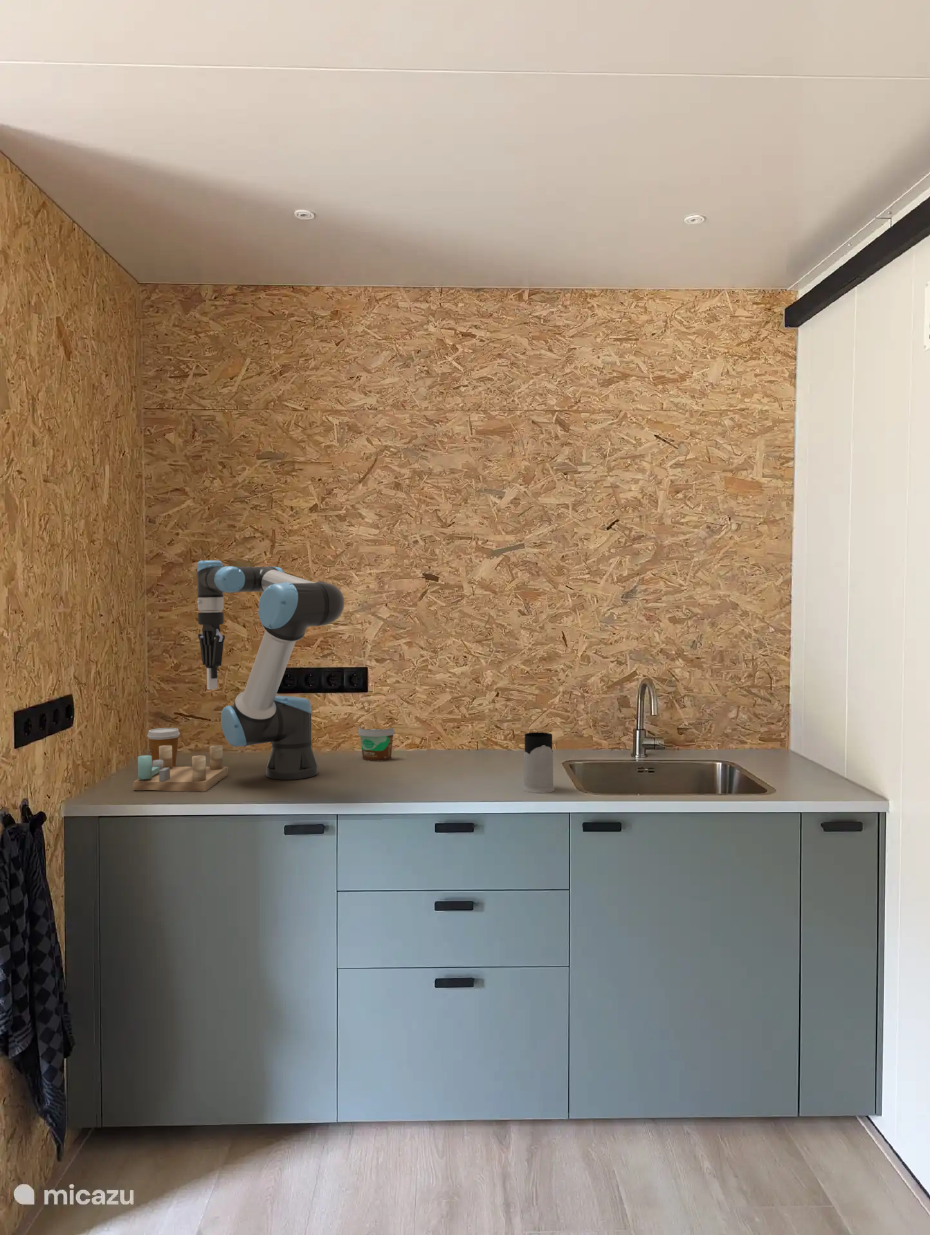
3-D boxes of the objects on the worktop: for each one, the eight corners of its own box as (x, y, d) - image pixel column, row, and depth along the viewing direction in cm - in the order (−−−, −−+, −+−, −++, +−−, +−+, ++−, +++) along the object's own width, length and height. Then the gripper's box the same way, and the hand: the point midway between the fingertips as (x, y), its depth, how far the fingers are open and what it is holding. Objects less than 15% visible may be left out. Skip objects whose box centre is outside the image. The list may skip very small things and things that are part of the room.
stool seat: (227, 775, 269) (227, 744, 268) (205, 791, 249) (204, 758, 248) (160, 774, 269) (160, 744, 269) (133, 790, 249) (132, 758, 249)
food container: (351, 760, 289) (351, 729, 288) (359, 756, 294) (359, 726, 294) (388, 762, 285) (387, 730, 285) (395, 758, 291) (395, 727, 290)
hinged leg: (154, 770, 262) (153, 749, 262) (166, 770, 262) (165, 749, 262) (136, 779, 250) (135, 757, 250) (148, 779, 250) (148, 757, 250)
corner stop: (170, 778, 253) (169, 767, 253) (164, 781, 249) (164, 770, 249) (164, 778, 254) (164, 767, 253) (159, 781, 250) (159, 770, 249)
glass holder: (529, 794, 243) (528, 738, 242) (511, 782, 256) (511, 729, 256) (559, 791, 245) (559, 736, 244) (540, 780, 259) (540, 728, 258)
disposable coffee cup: (185, 766, 282) (184, 727, 281) (172, 772, 272) (172, 733, 272) (156, 765, 283) (155, 727, 282) (142, 772, 273) (141, 732, 273)
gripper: (189, 611, 278) (191, 688, 279) (209, 612, 268) (211, 692, 269) (212, 610, 283) (213, 686, 284) (232, 611, 273) (234, 689, 274)
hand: (212, 689), depth 277 cm, fingers closed
